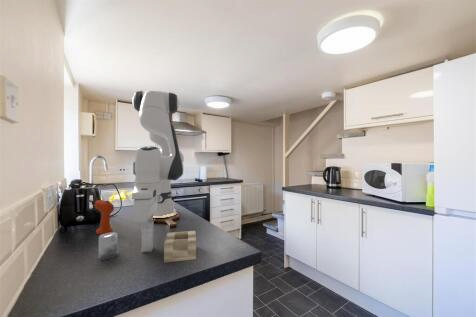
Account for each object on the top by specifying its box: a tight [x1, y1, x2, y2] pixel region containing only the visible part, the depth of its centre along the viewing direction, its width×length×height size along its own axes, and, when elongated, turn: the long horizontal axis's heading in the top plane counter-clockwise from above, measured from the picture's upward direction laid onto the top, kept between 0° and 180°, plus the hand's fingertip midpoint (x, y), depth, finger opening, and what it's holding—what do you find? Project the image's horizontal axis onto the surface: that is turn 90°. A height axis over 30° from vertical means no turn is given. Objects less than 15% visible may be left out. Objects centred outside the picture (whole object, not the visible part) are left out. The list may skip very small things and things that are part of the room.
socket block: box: [163, 230, 197, 264], centre depth 70 cm, size 10×10×6 cm
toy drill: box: [86, 199, 115, 235], centre depth 92 cm, size 5×19×15 cm, turn 65°
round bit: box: [98, 231, 119, 261], centre depth 68 cm, size 6×6×7 cm
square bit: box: [140, 220, 155, 253], centre depth 73 cm, size 3×3×10 cm
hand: (147, 228), depth 72 cm, fingers open, 8 cm apart
